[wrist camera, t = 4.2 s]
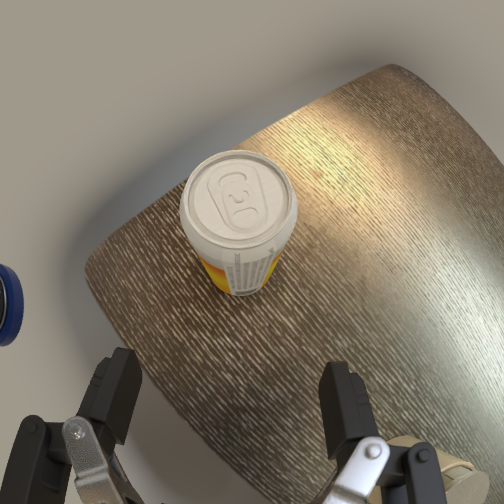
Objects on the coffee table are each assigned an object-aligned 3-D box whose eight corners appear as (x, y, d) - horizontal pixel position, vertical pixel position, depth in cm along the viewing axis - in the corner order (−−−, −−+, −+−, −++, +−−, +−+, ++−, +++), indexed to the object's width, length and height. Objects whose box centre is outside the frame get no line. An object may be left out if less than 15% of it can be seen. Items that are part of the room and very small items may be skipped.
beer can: (259, 228, 29) (275, 132, 15) (280, 285, 28) (321, 233, 13) (201, 246, 28) (164, 163, 14) (219, 305, 27) (193, 275, 12)
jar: (371, 510, 20) (416, 560, 9) (345, 467, 22) (395, 522, 11) (431, 466, 22) (490, 498, 10) (413, 420, 24) (483, 447, 12)
